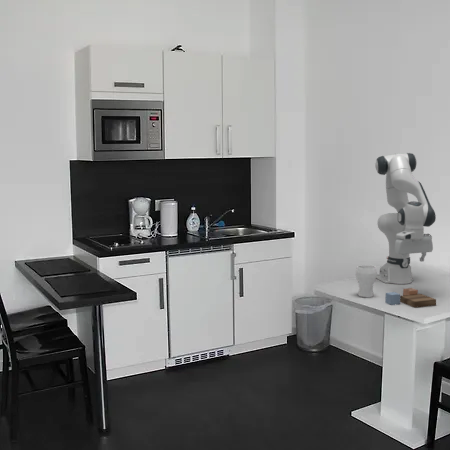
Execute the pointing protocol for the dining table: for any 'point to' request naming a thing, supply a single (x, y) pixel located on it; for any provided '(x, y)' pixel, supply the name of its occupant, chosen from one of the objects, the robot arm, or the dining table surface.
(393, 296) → the blue block
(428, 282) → the dining table surface
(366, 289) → the cup
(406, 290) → the terracotta block
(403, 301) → the pedestal
